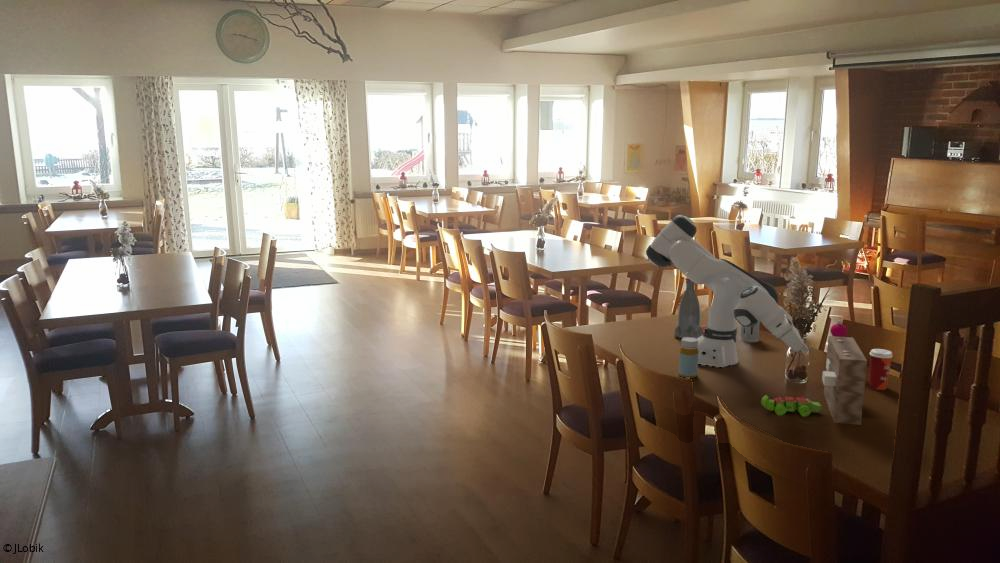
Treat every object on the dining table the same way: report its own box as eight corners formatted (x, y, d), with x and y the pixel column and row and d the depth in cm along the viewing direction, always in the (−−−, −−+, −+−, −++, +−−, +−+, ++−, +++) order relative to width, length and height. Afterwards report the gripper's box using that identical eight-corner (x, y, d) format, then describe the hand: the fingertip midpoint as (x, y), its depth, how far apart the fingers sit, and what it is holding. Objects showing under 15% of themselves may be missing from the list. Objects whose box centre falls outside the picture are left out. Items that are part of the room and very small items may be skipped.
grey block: (828, 372, 254) (828, 363, 253) (826, 367, 258) (826, 358, 258) (846, 373, 252) (847, 364, 251) (844, 368, 257) (845, 360, 256)
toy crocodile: (818, 410, 250) (819, 393, 249) (823, 417, 244) (825, 400, 243) (758, 408, 253) (759, 391, 252) (762, 415, 247) (763, 398, 245)
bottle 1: (705, 341, 329) (708, 280, 323) (677, 341, 329) (679, 281, 323) (698, 333, 341) (701, 274, 335) (671, 333, 341) (673, 275, 335)
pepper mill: (847, 372, 286) (851, 323, 281) (827, 371, 287) (831, 322, 283) (842, 366, 293) (847, 318, 288) (823, 365, 294) (827, 317, 290)
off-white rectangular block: (824, 385, 241) (824, 376, 241) (821, 379, 246) (822, 370, 246) (843, 386, 240) (844, 377, 239) (841, 381, 245) (842, 372, 244)
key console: (834, 422, 240) (839, 357, 235) (823, 394, 264) (828, 335, 259) (860, 424, 237) (867, 359, 233) (847, 396, 262) (853, 336, 257)
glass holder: (761, 338, 331) (763, 306, 328) (753, 346, 320) (755, 313, 316) (742, 335, 336) (743, 304, 333) (733, 343, 324) (735, 311, 321)
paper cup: (888, 392, 264) (892, 355, 261) (865, 388, 268) (868, 352, 265) (890, 385, 271) (894, 350, 268) (867, 382, 275) (870, 346, 272)
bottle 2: (687, 380, 280) (688, 343, 277) (675, 374, 286) (676, 338, 283) (701, 377, 283) (702, 340, 280) (688, 371, 289) (690, 335, 286)
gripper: (769, 320, 268) (796, 347, 268) (775, 336, 249) (803, 365, 249) (783, 309, 266) (809, 336, 266) (790, 325, 247) (818, 354, 247)
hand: (807, 350), depth 257 cm, fingers closed
